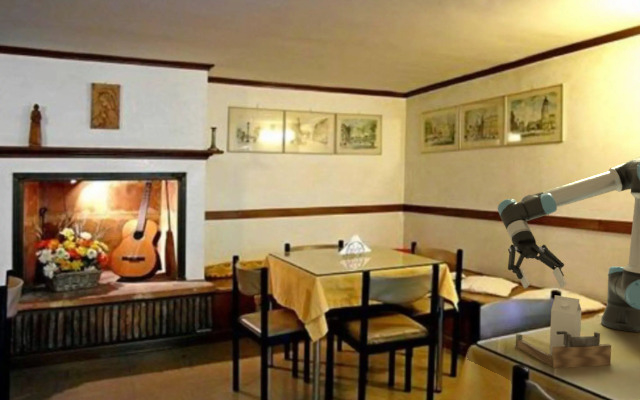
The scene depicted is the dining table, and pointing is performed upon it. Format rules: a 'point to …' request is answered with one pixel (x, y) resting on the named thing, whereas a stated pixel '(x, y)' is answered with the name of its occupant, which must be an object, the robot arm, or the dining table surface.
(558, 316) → the milk carton
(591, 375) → the dining table surface
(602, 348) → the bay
